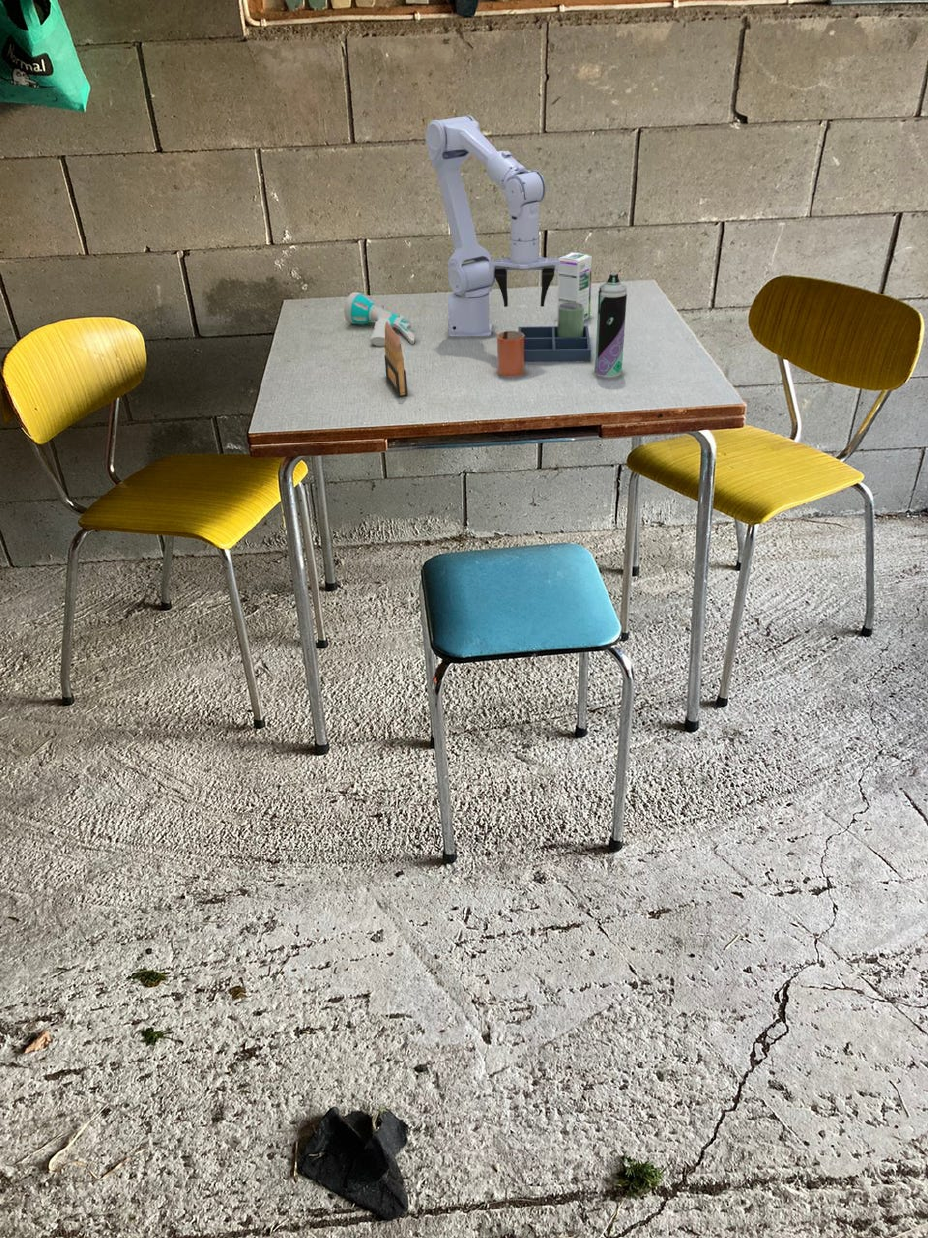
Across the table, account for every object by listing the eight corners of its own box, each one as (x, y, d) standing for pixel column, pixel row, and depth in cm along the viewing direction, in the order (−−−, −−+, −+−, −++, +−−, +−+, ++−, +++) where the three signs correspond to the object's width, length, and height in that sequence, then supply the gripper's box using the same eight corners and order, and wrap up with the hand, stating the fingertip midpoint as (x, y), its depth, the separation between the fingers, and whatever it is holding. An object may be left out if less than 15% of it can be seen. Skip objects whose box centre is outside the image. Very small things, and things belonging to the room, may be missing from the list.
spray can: (604, 381, 190) (610, 279, 178) (589, 372, 194) (593, 273, 182) (626, 375, 192) (633, 275, 180) (611, 367, 196) (617, 268, 184)
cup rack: (517, 364, 199) (517, 350, 198) (518, 339, 212) (518, 326, 210) (590, 363, 198) (591, 349, 196) (587, 338, 211) (587, 325, 209)
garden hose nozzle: (414, 328, 208) (420, 291, 223) (335, 323, 208) (346, 286, 223) (413, 358, 213) (419, 320, 228) (336, 353, 213) (347, 315, 227)
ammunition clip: (407, 395, 187) (403, 336, 180) (398, 397, 187) (394, 337, 180) (394, 377, 195) (390, 319, 188) (386, 378, 195) (381, 320, 188)
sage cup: (557, 347, 205) (558, 310, 201) (556, 338, 210) (557, 301, 205) (583, 346, 205) (584, 309, 200) (582, 338, 209) (583, 301, 205)
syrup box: (577, 324, 218) (580, 260, 210) (556, 320, 221) (557, 256, 213) (590, 318, 222) (593, 254, 214) (569, 314, 225) (571, 250, 217)
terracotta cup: (496, 378, 193) (496, 339, 188) (497, 368, 197) (497, 330, 193) (524, 378, 193) (524, 339, 188) (524, 368, 197) (524, 330, 192)
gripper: (487, 243, 188) (488, 311, 196) (560, 242, 187) (558, 310, 195) (489, 234, 194) (490, 300, 202) (560, 233, 193) (558, 300, 201)
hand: (524, 305), depth 199 cm, fingers open, 7 cm apart
